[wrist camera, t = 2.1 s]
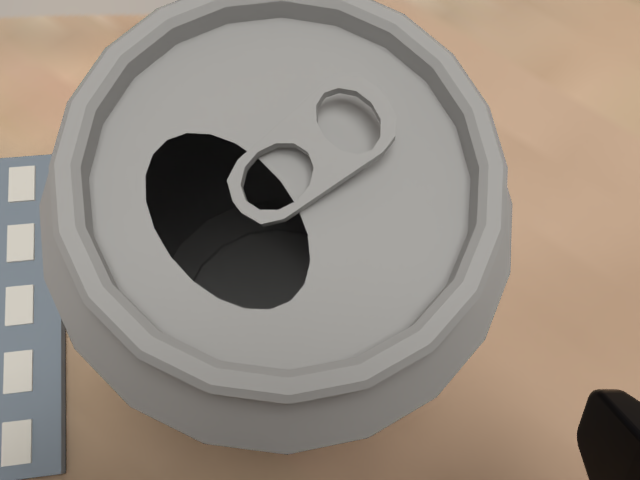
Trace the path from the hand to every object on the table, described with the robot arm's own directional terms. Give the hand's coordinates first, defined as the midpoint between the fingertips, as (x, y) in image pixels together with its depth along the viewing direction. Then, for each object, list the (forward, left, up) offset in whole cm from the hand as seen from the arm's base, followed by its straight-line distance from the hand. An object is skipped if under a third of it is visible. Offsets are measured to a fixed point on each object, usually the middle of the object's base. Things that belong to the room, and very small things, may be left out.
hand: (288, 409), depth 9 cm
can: (+2, +3, -10) cm, 11 cm away
